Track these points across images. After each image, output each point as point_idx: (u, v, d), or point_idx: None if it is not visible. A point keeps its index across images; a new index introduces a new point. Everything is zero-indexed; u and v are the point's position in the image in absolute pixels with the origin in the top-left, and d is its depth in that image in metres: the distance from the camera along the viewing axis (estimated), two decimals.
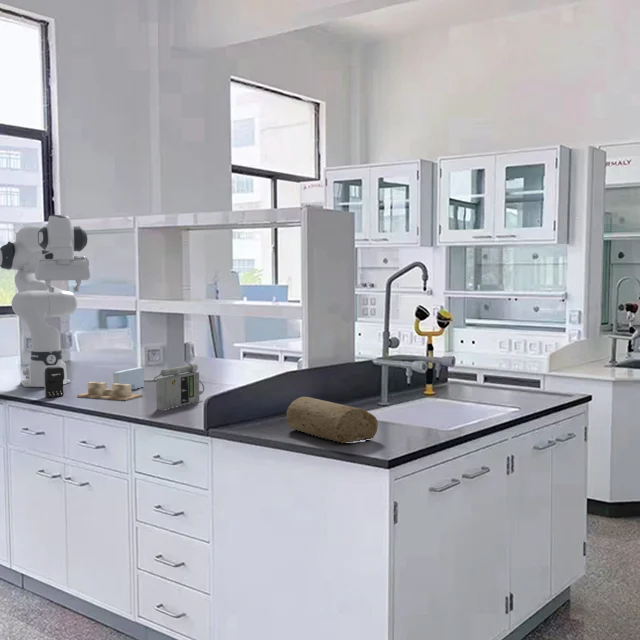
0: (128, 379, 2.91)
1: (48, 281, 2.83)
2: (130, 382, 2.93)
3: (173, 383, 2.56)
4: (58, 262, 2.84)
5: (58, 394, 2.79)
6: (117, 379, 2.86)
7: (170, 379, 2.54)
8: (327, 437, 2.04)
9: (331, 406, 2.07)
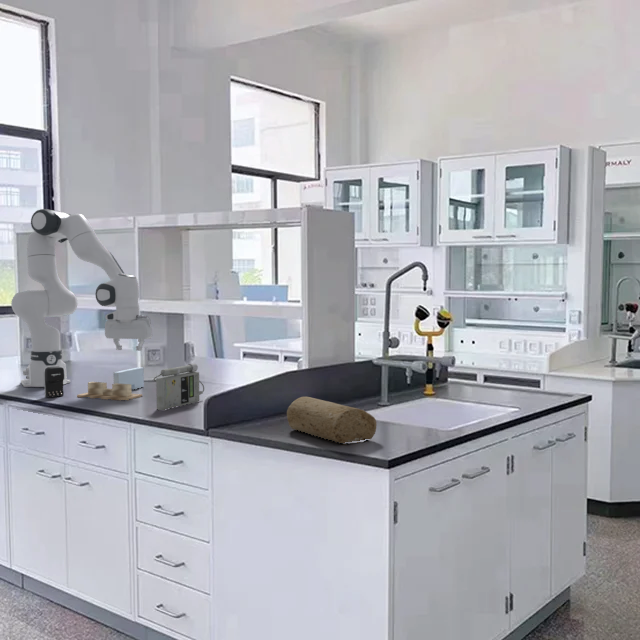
0: (128, 379, 2.91)
1: (114, 339, 2.94)
2: (130, 382, 2.93)
3: (173, 383, 2.56)
4: (120, 322, 2.91)
5: (58, 394, 2.79)
6: (117, 379, 2.86)
7: (170, 379, 2.54)
8: (325, 437, 2.04)
9: (330, 406, 2.07)
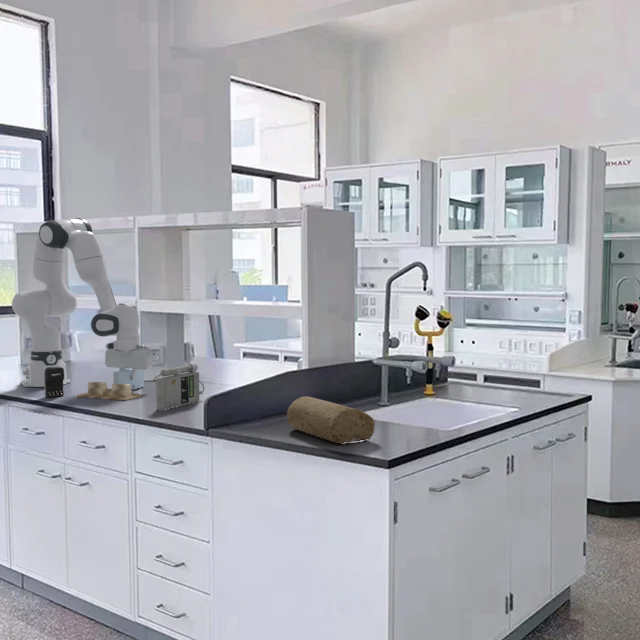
0: (128, 379, 2.91)
1: (120, 369, 2.94)
2: (130, 382, 2.93)
3: (173, 383, 2.56)
4: (120, 351, 2.92)
5: (58, 394, 2.79)
6: (117, 379, 2.86)
7: (170, 379, 2.54)
8: (323, 437, 2.04)
9: (328, 406, 2.07)
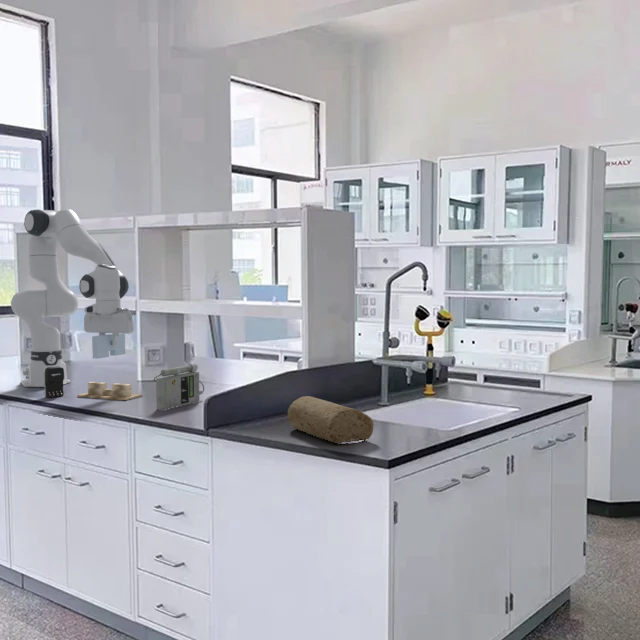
0: (108, 344, 2.75)
1: (100, 334, 2.78)
2: (110, 347, 2.77)
3: (173, 383, 2.56)
4: (99, 315, 2.76)
5: (58, 394, 2.79)
6: (96, 343, 2.70)
7: (170, 379, 2.54)
8: (322, 437, 2.04)
9: (327, 406, 2.07)
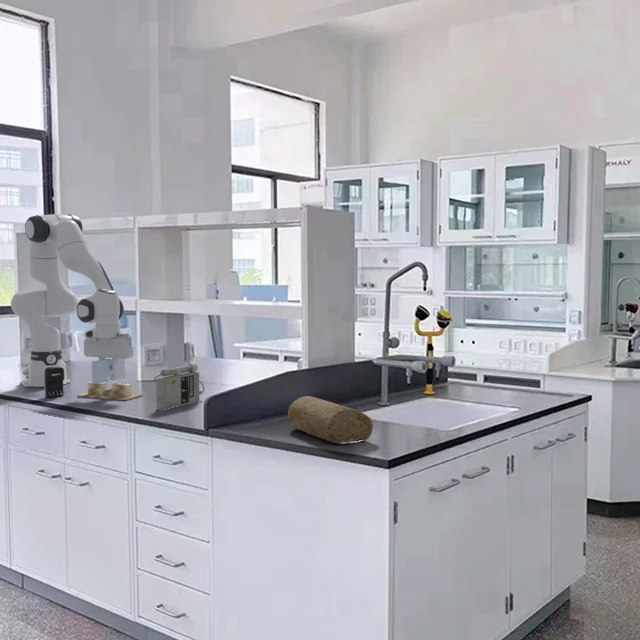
0: (107, 369, 2.76)
1: (100, 358, 2.78)
2: (110, 372, 2.77)
3: (173, 383, 2.56)
4: (99, 340, 2.76)
5: (58, 394, 2.79)
6: (96, 369, 2.70)
7: (170, 379, 2.54)
8: (321, 437, 2.04)
9: (327, 406, 2.07)
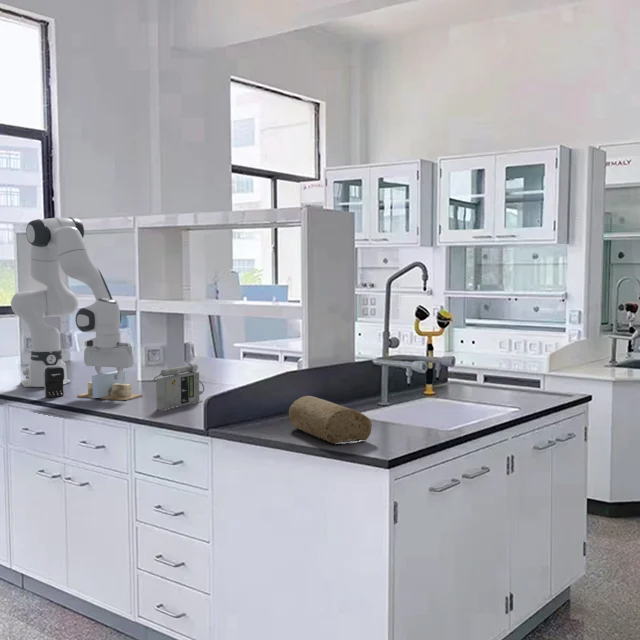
0: (108, 383, 2.76)
1: (96, 367, 2.79)
2: (110, 386, 2.77)
3: (173, 383, 2.56)
4: (99, 349, 2.76)
5: (58, 394, 2.79)
6: (96, 383, 2.71)
7: (170, 379, 2.54)
8: (320, 437, 2.05)
9: (326, 406, 2.07)
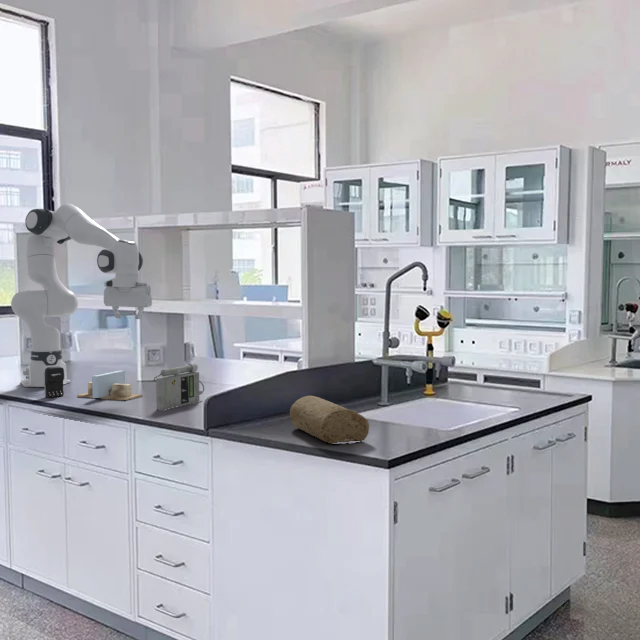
0: (108, 383, 2.76)
1: (113, 307, 2.86)
2: (110, 386, 2.77)
3: (173, 383, 2.56)
4: (119, 289, 2.83)
5: (58, 394, 2.79)
6: (96, 383, 2.71)
7: (170, 379, 2.54)
8: (317, 436, 2.05)
9: (324, 406, 2.07)
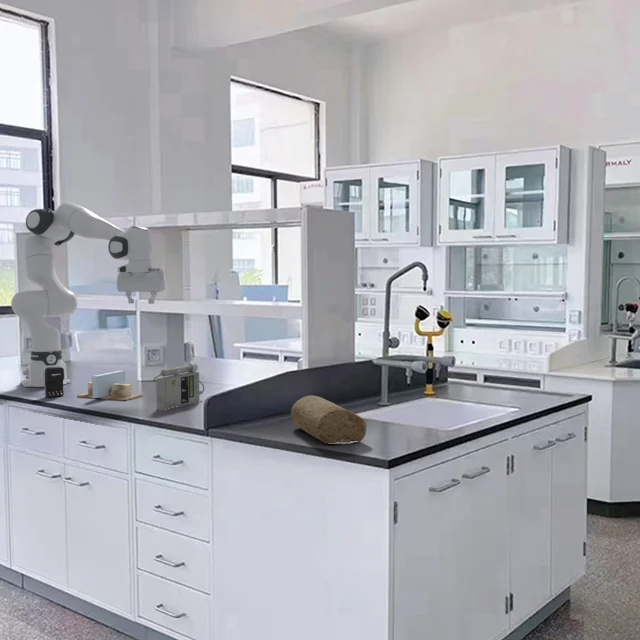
0: (108, 383, 2.76)
1: (126, 293, 2.92)
2: (110, 386, 2.77)
3: (173, 383, 2.56)
4: (132, 274, 2.89)
5: (58, 394, 2.79)
6: (96, 383, 2.71)
7: (170, 379, 2.54)
8: (314, 436, 2.05)
9: (322, 406, 2.07)
